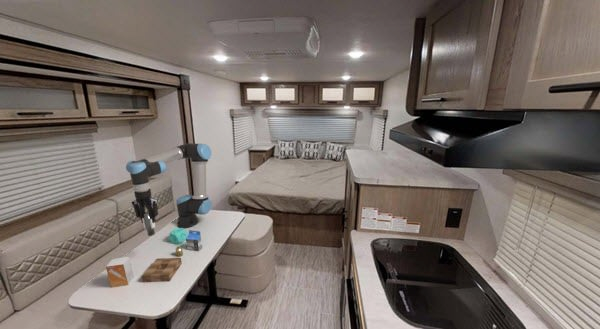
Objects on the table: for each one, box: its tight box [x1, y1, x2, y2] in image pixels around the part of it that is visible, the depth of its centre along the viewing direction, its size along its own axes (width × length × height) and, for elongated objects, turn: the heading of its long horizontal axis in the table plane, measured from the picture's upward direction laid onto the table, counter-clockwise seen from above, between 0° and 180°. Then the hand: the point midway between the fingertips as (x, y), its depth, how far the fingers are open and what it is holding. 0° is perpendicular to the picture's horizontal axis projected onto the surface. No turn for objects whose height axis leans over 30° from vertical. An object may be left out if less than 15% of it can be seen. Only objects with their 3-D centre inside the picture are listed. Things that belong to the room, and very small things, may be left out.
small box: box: [105, 256, 135, 288], centre depth 117 cm, size 8×6×13 cm
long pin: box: [143, 211, 156, 237], centre depth 129 cm, size 3×3×14 cm
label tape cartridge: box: [185, 229, 203, 252], centre depth 145 cm, size 9×4×12 cm, turn 79°
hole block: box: [141, 257, 183, 283], centre depth 125 cm, size 14×14×4 cm
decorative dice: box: [168, 227, 188, 245], centre depth 154 cm, size 8×8×8 cm
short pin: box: [175, 246, 184, 258], centre depth 139 cm, size 3×3×5 cm
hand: (149, 227), depth 130 cm, fingers closed on long pin, 3 cm apart
